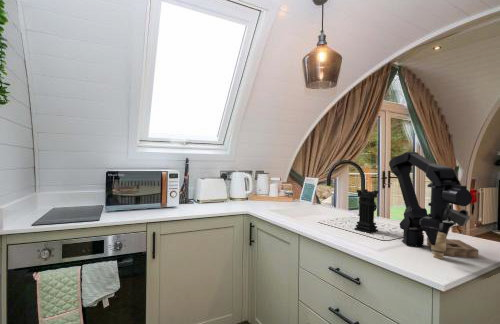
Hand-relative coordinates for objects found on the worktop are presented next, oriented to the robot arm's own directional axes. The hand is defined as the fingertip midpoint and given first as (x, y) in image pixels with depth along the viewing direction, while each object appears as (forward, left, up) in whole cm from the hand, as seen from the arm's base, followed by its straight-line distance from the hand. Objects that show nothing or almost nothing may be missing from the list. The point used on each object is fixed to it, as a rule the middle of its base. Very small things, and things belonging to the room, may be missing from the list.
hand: (438, 243), depth 98 cm
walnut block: (+9, +9, -5) cm, 14 cm away
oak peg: (0, 0, -5) cm, 5 cm away
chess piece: (-17, +32, -6) cm, 37 cm away
